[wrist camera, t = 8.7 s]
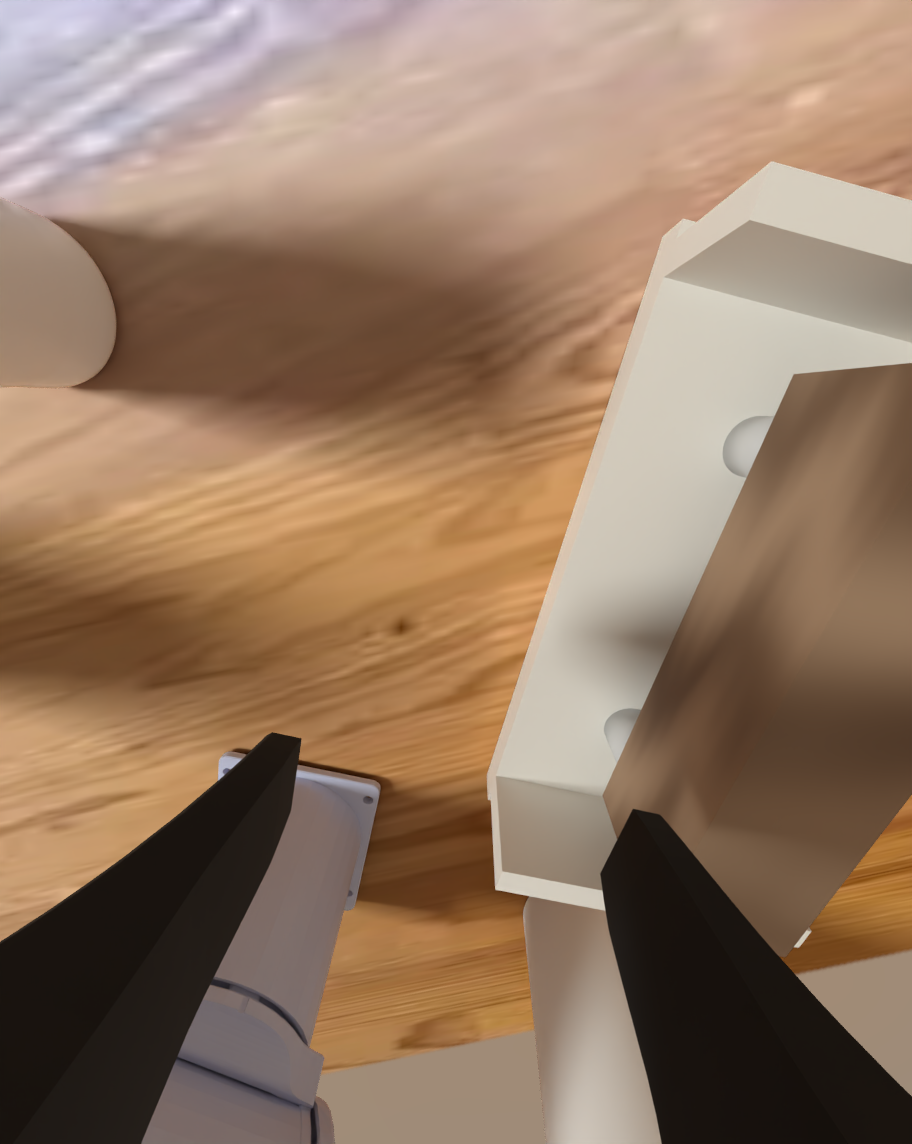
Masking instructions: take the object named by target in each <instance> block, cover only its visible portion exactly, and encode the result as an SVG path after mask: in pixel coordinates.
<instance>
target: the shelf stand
mask: <svg viewBox="0 0 912 1144" xmlns="http://www.w3.org/2000/svg"><path fill="white" fill-rule="evenodd" d="M906 363H912V201H911V200H908V199H904V198H901V197H897V196H894V195H890V194H886V193H883V192H879V191H876V190H872V189H869V188H865V187H862V186H858V185H854V184H851V183H847V182H844V181H840V180H837V179H833V178H830V177H826V176H822V175H819V174H815V173H812V172H808V171H805V170H801V169H798V168H794V167H790V166H787V165H783V164H780V163H776V162H773V161H771V162H770V163H769V164H768V165H767V166H765V167H764V168H763V169H762V170H760V171H759V172H758V173H757V174H755V175H754V176H753V177H752V178H751V179H749V180H748V181H747V182H746V183H744V184H743V185H742V186H741V187H739V188H738V189H737V190H736V191H734V192H733V193H732V194H731V195H730V196H728V197H727V198H726V199H725V200H723V201H722V202H721V203H720V204H718V205H717V206H716V207H715V208H714V209H712V210H711V211H710V212H709V213H707V214H706V215H705V216H704V217H702V218H701V219H700V220H699V221H698V222H694V221H690V220H687V219H682V220H681V221H680V222H679V223H678V224H676V225H675V226H674V227H673V228H672V229H671V230H670V231H668V232H667V233H666V234H665V235H664V236H663V237H662V240H661V243H660V246H659V249H658V252H657V256H656V259H655V262H654V265H653V268H652V271H651V274H650V277H649V280H648V283H647V286H646V289H645V292H644V295H643V298H642V301H641V304H640V308H639V311H638V314H637V317H636V320H635V323H634V326H633V329H632V332H631V335H630V338H629V341H628V344H627V347H626V350H625V353H624V357H623V360H622V363H621V366H620V369H619V372H618V375H617V378H616V381H615V384H614V387H613V390H612V393H611V396H610V399H609V402H608V405H607V409H606V412H605V415H604V418H603V421H602V424H601V427H600V430H599V433H598V436H597V439H596V442H595V445H594V448H593V451H592V454H591V458H590V461H589V464H588V467H587V470H586V473H585V476H584V479H583V482H582V485H581V488H580V491H579V494H578V497H577V500H576V503H575V506H574V510H573V513H572V516H571V519H570V522H569V525H568V528H567V531H566V534H565V537H564V540H563V543H562V546H561V549H560V552H559V555H558V559H557V562H556V565H555V568H554V571H553V574H552V577H551V580H550V583H549V586H548V589H547V592H546V595H545V598H544V601H543V604H542V607H541V611H540V614H539V617H538V620H537V623H536V626H535V629H534V632H533V635H532V638H531V641H530V644H529V647H528V650H527V653H526V656H525V660H524V663H523V666H522V669H521V672H520V675H519V678H518V681H517V684H516V687H515V690H514V693H513V696H512V699H511V702H510V705H509V708H508V712H507V715H506V718H505V721H504V724H503V727H502V730H501V733H500V736H499V739H498V742H497V745H496V748H495V751H494V754H493V757H492V761H491V764H490V767H489V770H488V773H487V793H488V800H491V814H492V834H493V854H494V874H495V890H500V891H505V892H510V893H515V894H520V895H526V896H531V897H536V898H541V899H547V900H552V901H557V902H562V903H567V904H573V905H578V906H583V907H588V908H594V909H599V910H604V911H605V905H604V898H603V891H602V883H601V876H600V873H601V871H602V869H603V867H604V865H605V863H606V861H607V859H608V857H609V855H610V853H611V851H612V849H613V847H614V845H615V843H616V841H617V838H616V835H615V832H614V829H613V826H612V823H611V820H610V817H609V814H608V811H607V808H606V805H605V802H604V799H603V796H602V795H603V793H604V791H605V789H606V786H607V784H608V782H609V780H610V778H611V775H612V773H613V771H614V769H615V767H616V764H617V762H618V760H619V758H620V756H621V753H622V751H623V749H624V747H625V745H626V742H627V740H628V738H629V736H630V734H631V731H632V729H633V727H634V725H635V723H636V720H637V718H638V716H639V714H640V712H641V709H642V707H643V705H644V703H645V700H646V698H647V696H648V694H649V692H650V689H651V687H652V685H653V683H654V681H655V678H656V676H657V674H658V672H659V670H660V667H661V665H662V663H663V661H664V659H665V656H666V654H667V652H668V650H669V648H670V645H671V643H672V641H673V639H674V637H675V634H676V632H677V630H678V628H679V626H680V623H681V621H682V619H683V617H684V615H685V612H686V610H687V608H688V606H689V604H690V601H691V599H692V597H693V595H694V593H695V590H696V588H697V586H698V584H699V582H700V579H701V577H702V575H703V573H704V571H705V568H706V566H707V564H708V562H709V560H710V557H711V555H712V553H713V551H714V549H715V546H716V544H717V542H718V540H719V538H720V535H721V533H722V531H723V529H724V526H725V524H726V522H727V520H728V518H729V515H730V513H731V511H732V509H733V507H734V504H735V502H736V500H737V498H738V496H739V493H740V491H741V489H742V487H743V485H744V482H745V480H746V478H747V476H748V474H749V471H750V469H751V467H752V465H753V463H754V460H755V458H756V456H757V454H758V452H759V449H760V447H761V445H762V443H763V441H764V438H765V436H766V434H767V432H768V430H769V427H770V425H771V423H772V421H773V419H774V416H775V414H776V412H777V410H778V408H779V405H780V403H781V401H782V399H783V397H784V394H785V392H786V390H787V388H788V386H789V383H790V381H791V379H792V377H793V375H794V374H801V373H811V372H822V371H832V370H843V369H853V368H864V367H874V366H885V365H895V364H906ZM811 932H812V931H811V929H810V928H808V929H807V930H806V932H805V933H804V934H803V936H802V937H801V938H800V939H799V941H798V942H797V943H796V945H795V946H794V947H797V948H799V947H800V946H801V944H802V943H803V942H804V941H805V939H806V938H807V937H808V935H809V934H810V933H811Z"/></svg>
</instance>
